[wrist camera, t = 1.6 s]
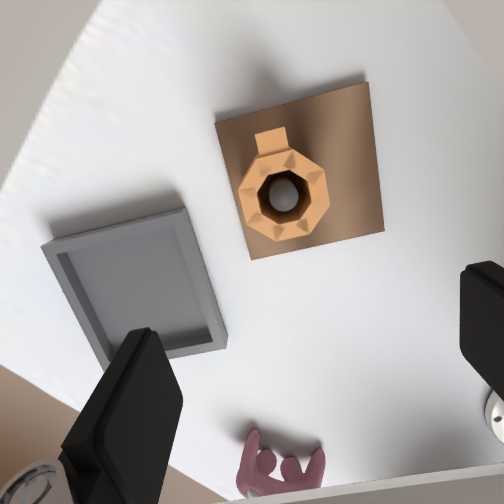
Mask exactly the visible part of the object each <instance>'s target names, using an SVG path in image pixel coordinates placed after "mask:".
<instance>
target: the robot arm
mask: <svg viewBox="0 0 504 504" xmlns="http://www.w3.org/2000/svg"><path fill="white" fill-rule="evenodd" d="M460 350H461V352H462V354H463V356H464V357H465V359H466V360H467V361H468V362H469V363H470V364H471V365H472V367H473V368H474V369H475V370H476V371H477V372H478V373H479V374H480V376H481V377H482V378H483V379H484V380H485V381H486V382H487V384H488V385H489V386H490V387H491V388H492V389H493V392H492V394H491V395H490V397H489V399H488V402H487V405H486V408H485V418H486V423H487V425H488V427H489V429H490V430H491V431H492V433H493V434H494V435H495V437H496V438H497V439H498V440H499V441H500V442H502V443H503V444H504V268H503V267H501V266H500V265H498V264H496V263H495V262H493V261H485V262H480V263H474V264H469V265H468V266H467V267H466V269H465V271H462V272H461V274H460ZM182 406H183V396H182V392H181V390H180V387H179V385H178V382H177V380H176V377H175V375H174V372H173V370H172V368H171V365H170V363H169V360H168V358H167V355H166V353H165V350H164V348H163V345H162V343H161V340H160V338H159V335H158V333H157V332H156V331H155V330H154V331H152V330H151V329H150V328H149V327H145V328H140V329H135V330H131V331H129V332H128V334H127V336H126V337H125V339H124V341H123V342H122V344H121V346H120V347H119V349H118V351H117V352H116V354H115V356H114V357H113V359H112V361H111V363H110V364H109V366H108V368H107V369H106V371H105V373H104V374H103V376H102V378H101V379H100V381H99V383H98V384H97V386H96V388H95V389H94V391H93V393H92V394H91V396H90V398H89V400H88V401H87V403H86V405H85V406H84V408H83V410H82V411H81V413H80V415H79V416H78V418H77V420H76V421H75V423H74V425H73V426H72V428H71V430H70V432H69V433H68V435H67V437H66V438H65V440H64V442H63V444H62V445H61V448H62V449H63V451H62V452H61V454H60V456H59V457H58V459H54V458H48V459H43V460H40V461H37V462H35V463H33V464H31V465H29V466H28V467H26V468H24V469H23V470H22V471H20V472H19V473H18V474H16V475H15V476H14V477H13V478H12V479H11V480H10V481H9V482H8V483H7V484H6V485H5V486H4V487H3V488H2V490H1V491H0V504H158V501H159V497H160V493H161V489H162V485H163V481H164V477H165V473H166V469H167V465H168V461H169V457H170V453H171V450H172V446H173V442H174V438H175V434H176V430H177V426H178V422H179V418H180V414H181V410H182ZM214 504H504V463H498V464H491V465H483V466H476V467H468V468H461V469H453V470H446V471H439V472H431V473H424V474H417V475H409V476H402V477H395V478H388V479H381V480H373V481H366V482H359V483H352V484H345V485H338V486H331V487H324V488H317V489H310V490H302V491H295V492H288V493H281V494H275V495H268V496H261V497H254V498H247V499H240V500H234V501H227V502H220V503H214Z"/></svg>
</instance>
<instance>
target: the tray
mask: <svg viewBox="0 0 504 504" xmlns="http://www.w3.org/2000/svg"><path fill="white" fill-rule="evenodd" d="M40 247H41V249H42V251H43V253H44V255H45V257H46V259H47V261H48V263H49V265H50V267H51V269H52V271H53V272H54V274H55V276H56V278H57V280H58V282H59V284H60V286H61V288H62V290H63V292H64V294H65V296H66V298H67V300H68V302H69V304H70V306H71V308H72V310H73V312H74V314H75V316H76V318H77V320H78V322H79V324H80V326H81V328H82V330H83V332H84V334H85V336H86V337H87V339H88V341H89V343H90V345H91V347H92V349H93V351H94V353H95V355H96V357H97V359H98V361H99V363H100V365H101V367H102V369H103V371H104V372H105V371H106V369H107V368H108V366H109V364H110V363H111V361H112V359H113V357H114V356H115V354H116V352H117V351H118V349H119V347H120V346H121V344H122V342H123V341H124V339H125V337H126V336H127V334H128V332H129V331H131V330H135V329H140V328H145V327H149V328H150V329H151V330H152V331H154V330H155V331H156V332H157V333H158V335H159V338H160V340H161V343H162V345H163V348H164V350H165V353H166V355H167V358H168V359H173V358H178V357H183V356H189V355H194V354H199V353H205V352H210V351H215V350H220V349H226V346H227V339H228V335H227V331H226V328H225V325H224V322H223V319H222V316H221V313H220V310H219V307H218V304H217V301H216V298H215V295H214V291H213V288H212V285H211V282H210V279H209V276H208V273H207V270H206V267H205V264H204V261H203V258H202V255H201V252H200V248H199V245H198V242H197V239H196V236H195V233H194V230H193V227H192V224H191V221H190V218H189V215H188V212H187V208H186V207H184V208H180V209H175V210H171V211H167V212H163V213H159V214H155V215H151V216H147V217H143V218H139V219H134V220H130V221H126V222H122V223H118V224H114V225H110V226H106V227H102V228H98V229H93V230H89V231H85V232H81V233H77V234H73V235H69V236H65V237H61V238H57V239H53V240H51V241H50V242H48V243H46V244H44V245H42V246H40Z"/></svg>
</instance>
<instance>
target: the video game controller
mask: <svg viewBox="0 0 504 504" xmlns="http://www.w3.org/2000/svg"><path fill="white" fill-rule="evenodd" d="M258 448H259V432H258V430H257V429H253V430H252V431H251V432H250V434H249V435H248V437H247V440H246V443H245V445H244V449H243V453H242V457H241V463H240V468H239V470H238V473H237V476H236V485H237V488H238V490H239V492H240V493H241V494H242V495H243V496H244V497H246V498H254V497H261V496H268V495H275V494H281V493H288V492H295V491H302V490H310V489H317V488H320V486H321V482H322V478H323V474H324V470H325V454H324V451H323V450H322V449H320V448H318V449H317V450H316V451H315V452H314V453H313V455H312V457H311V459H310V461H309V464H308V466H307V469H306V471H305V473H303V472H302V469H301V466H300V463H299V461H298V460H297V459H296V458H294V457H289V458H286V459H284V460H283V461H282V463H281V466H280V470H281V474H282V477H283V479H284V481H285V482H284V481H280V480H277V479H274V478H271V477H269V476H268V475H269V474H270V473H271V472H273V470H274V469H275V467H276V462H277V460H276V456H275V454H274V453H273V452H272V451H270V450H263V451H261V452H259V453H258ZM257 453H258V455H257Z"/></svg>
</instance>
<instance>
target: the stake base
mask: <svg viewBox="0 0 504 504" xmlns="http://www.w3.org/2000/svg"><path fill="white" fill-rule="evenodd" d="M214 124H215V128H216V131H217V135H218V139H219V142H220V146H221V150H222V154H223V157H224V161H225V165H226V168H227V172H228V176H229V180H230V183H231V187H232V191H233V194H234V198H235V202H236V206H237V209H238V213H239V217H240V220H241V224H242V228H243V232H244V235H245V239H246V243H247V246H248V250H249V254H250V258H251V260H255V259H260V258H264V257H269V256H273V255H278V254H283V253H287V252H292V251H296V250H301V249H305V248H310V247H314V246H319V245H324V244H328V243H333V242H337V241H342V240H346V239H351V238H355V237H360V236H365V235H369V234H374V233H378V232H383V231H385V229H384V220H383V210H382V201H381V192H380V183H379V174H378V165H377V156H376V146H375V137H374V128H373V119H372V110H371V101H370V92H369V83H368V82H364V83H361V84H357V85H353V86H350V87H346V88H342V89H339V90H335V91H331V92H328V93H324V94H320V95H316V96H313V97H309V98H305V99H302V100H298V101H294V102H291V103H287V104H283V105H280V106H276V107H272V108H269V109H265V110H261V111H258V112H254V113H250V114H246V115H243V116H239V117H235V118H232V119H228V120H224V121H221V122H217V123H214ZM281 127H285V131H286V136H287V141H288V146H289V147H291V148H292V149H294V150H296V151H297V152H299V153H300V154H302V155H303V156H305V157H306V158H308V159H309V160H311V161H313V162H314V163H316V164H317V165H318V166H320V167H321V168H323V169H324V171H325V177H326V183H327V189H328V195H329V201H330V206H329V207H328V209H327V210H326V212H325V213H324V214H323V216H322V217H321V219H320V220H319V222H318V223H317V224H316V226H315V227H314V229H313V230H312V232H311V233H310V234H308V235H303V236H299V237H294V238H290V239H286V240H281V241H277V242H276V241H274V240H272V239H271V238H269V237H267V236H265V235H264V234H262V233H260V232H259V231H257V230H255V229H254V228H252V227H250V226H248V225H247V224H246V220H245V216H244V213H243V209H242V205H241V201H240V197H239V194H238V189H239V186H240V183H241V180H242V179H243V177H244V175H245V173H246V172H247V170H248V168H249V167H250V165H251V163H252V161H253V160H254V158H255V156H256V155H257V153H259V151H258V147H257V142H256V138H255V134H258V133H262V132H266V131H270V130H273V129H277V128H281ZM302 190H303V186H302V180H301V177H300V176H299V175H297V174H296V173H294V172H293V171H291V170H286V171H281V172H277V173H273V174H269V175H267V177H266V179H265V180H264V182H263V184H262V185H261V187H260V189H259V191H260V196H261V199H262V200H263V201H265V202H267V203H268V204H270V205H272V206H273V207H274V208H275V209H277V210H279V211H288V210H291V209H292V208H293V207H294V206H295V205H296V204H297V201H298V196H299V195H300V193H301V192H302Z"/></svg>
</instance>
